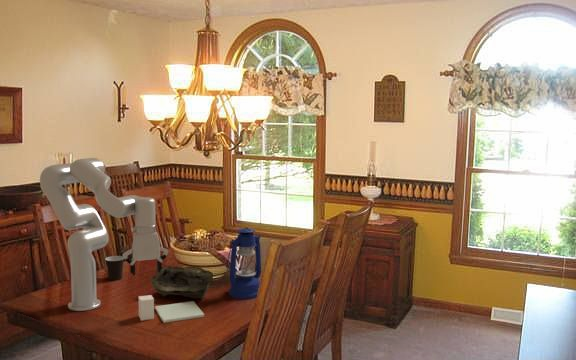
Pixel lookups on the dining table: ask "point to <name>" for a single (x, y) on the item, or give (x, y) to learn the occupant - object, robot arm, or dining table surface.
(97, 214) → the robot arm
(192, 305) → the sage mat
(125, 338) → the dining table surface
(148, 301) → the cream block
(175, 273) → the hollow geode rock
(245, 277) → the lantern
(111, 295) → the dining table surface
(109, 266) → the coffee mug
